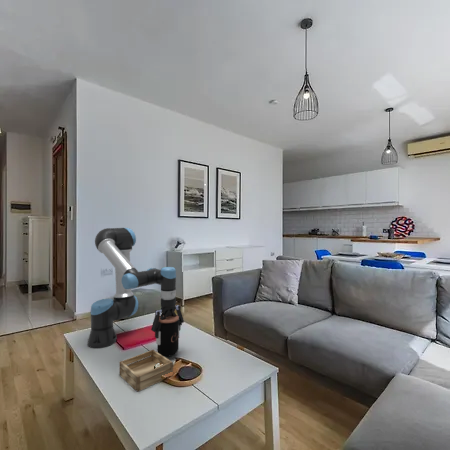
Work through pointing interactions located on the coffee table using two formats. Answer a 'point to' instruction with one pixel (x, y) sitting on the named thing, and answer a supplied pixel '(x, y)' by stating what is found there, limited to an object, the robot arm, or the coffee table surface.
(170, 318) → the coffee jar
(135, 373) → the pine crate
